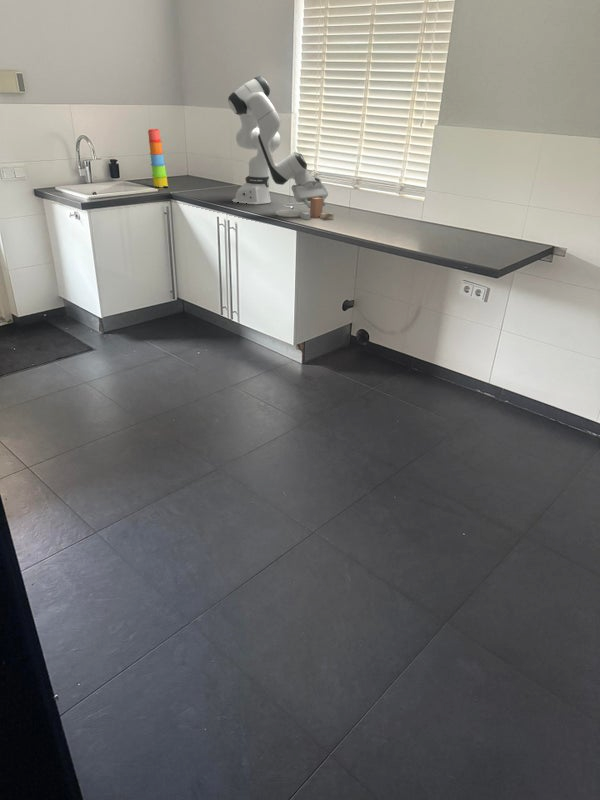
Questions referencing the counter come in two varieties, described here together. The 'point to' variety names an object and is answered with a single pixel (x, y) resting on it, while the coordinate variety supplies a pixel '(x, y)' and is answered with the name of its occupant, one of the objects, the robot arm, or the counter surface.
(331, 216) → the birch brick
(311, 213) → the orange cylinder
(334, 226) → the counter surface
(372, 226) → the counter surface
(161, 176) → the stacking cups
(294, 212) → the cream plate
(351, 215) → the counter surface
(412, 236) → the counter surface
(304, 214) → the grey brick
